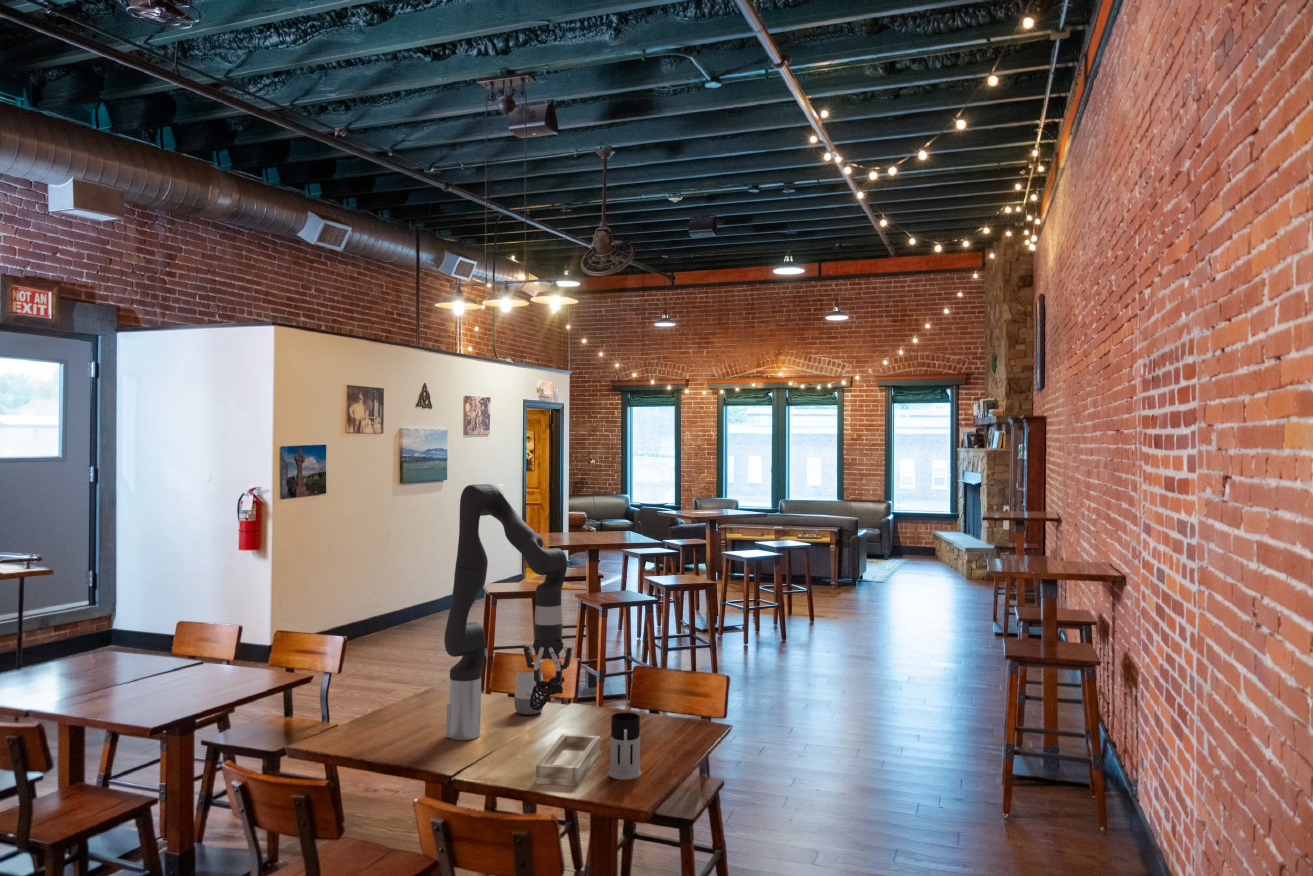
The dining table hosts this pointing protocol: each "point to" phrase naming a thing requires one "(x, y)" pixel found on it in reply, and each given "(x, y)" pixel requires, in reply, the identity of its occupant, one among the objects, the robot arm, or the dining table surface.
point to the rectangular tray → (568, 760)
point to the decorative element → (544, 692)
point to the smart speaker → (525, 693)
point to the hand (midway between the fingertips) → (548, 683)
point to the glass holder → (625, 746)
